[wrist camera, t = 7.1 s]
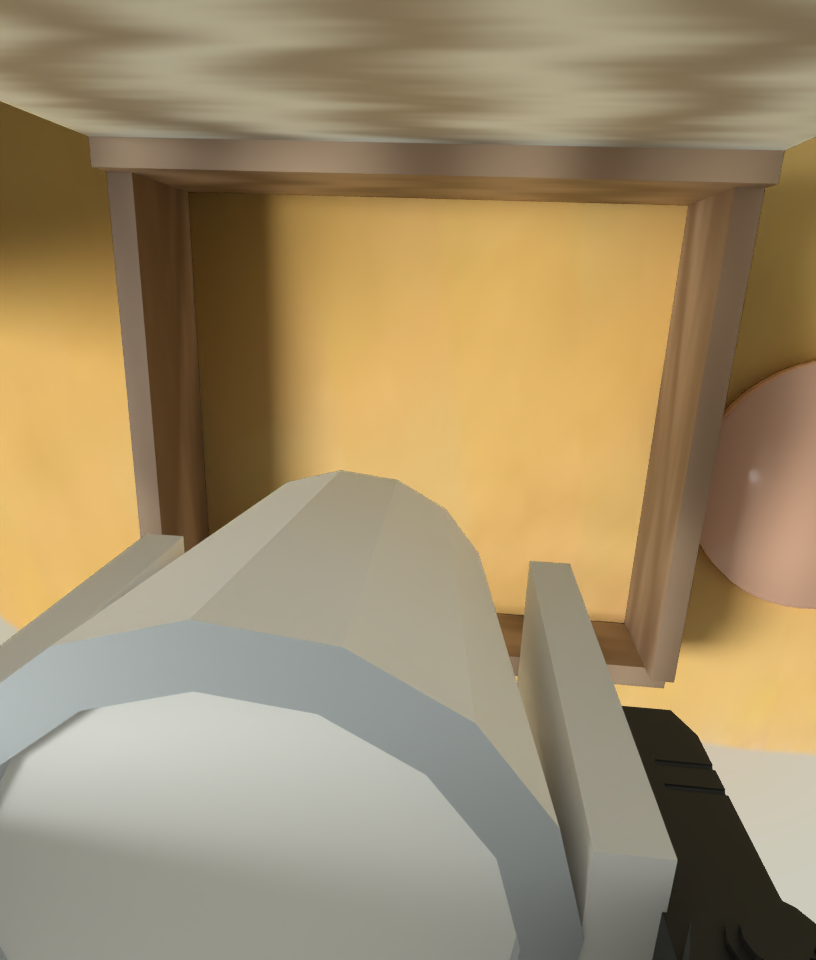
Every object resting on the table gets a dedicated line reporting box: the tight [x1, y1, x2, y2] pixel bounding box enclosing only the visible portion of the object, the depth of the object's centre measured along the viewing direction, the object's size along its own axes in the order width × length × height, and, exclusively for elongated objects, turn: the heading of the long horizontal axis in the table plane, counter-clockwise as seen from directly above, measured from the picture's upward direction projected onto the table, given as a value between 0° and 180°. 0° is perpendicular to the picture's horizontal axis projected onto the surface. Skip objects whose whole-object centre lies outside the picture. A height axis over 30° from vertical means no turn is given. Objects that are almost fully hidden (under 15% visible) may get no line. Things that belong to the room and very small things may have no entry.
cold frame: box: [0, 0, 816, 688], centre depth 19 cm, size 24×23×24 cm
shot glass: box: [0, 470, 584, 960], centre depth 10 cm, size 7×7×7 cm
